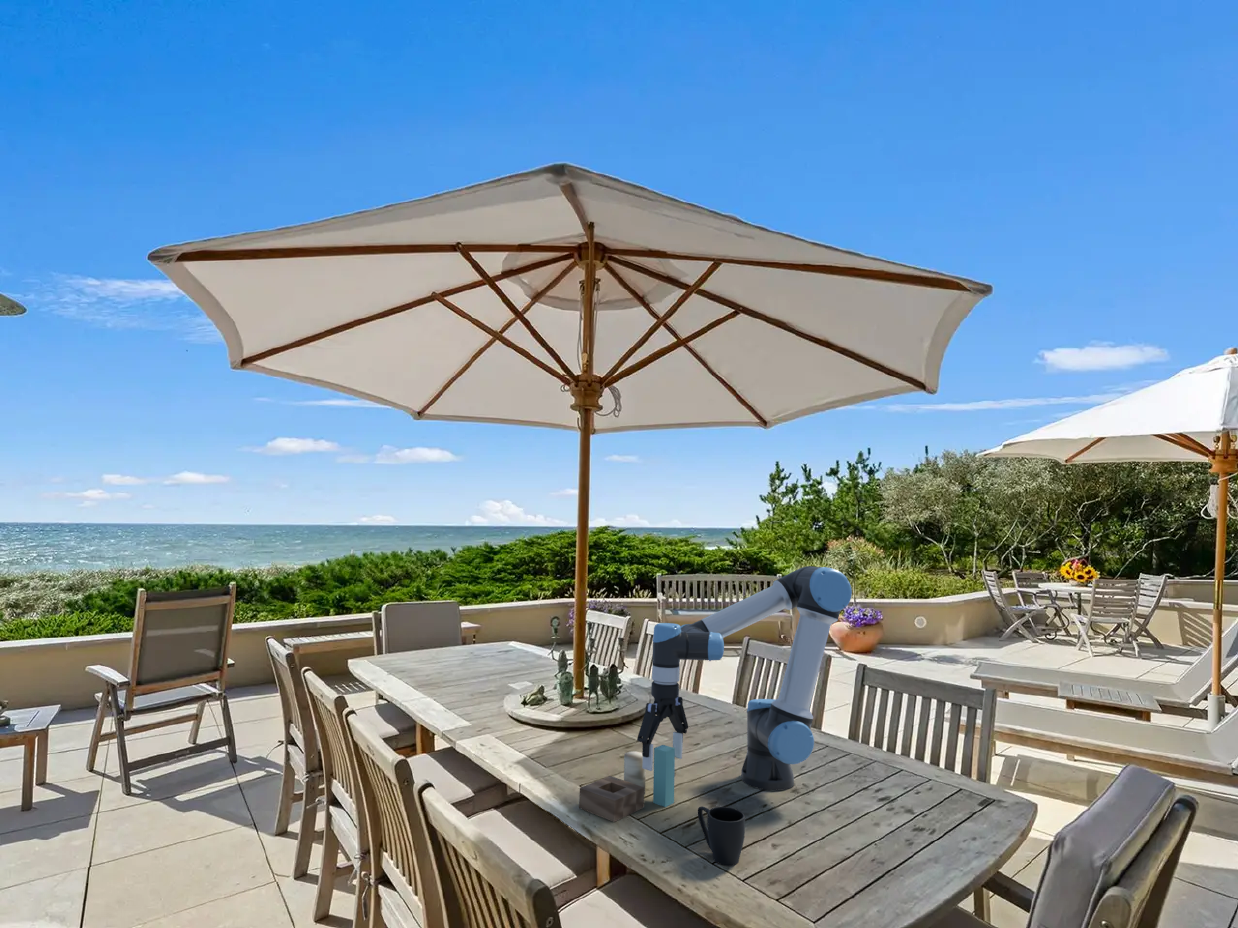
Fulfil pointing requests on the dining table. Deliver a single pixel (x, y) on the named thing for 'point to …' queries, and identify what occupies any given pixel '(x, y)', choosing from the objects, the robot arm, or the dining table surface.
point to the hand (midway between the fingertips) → (662, 763)
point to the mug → (723, 833)
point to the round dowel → (634, 768)
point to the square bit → (664, 775)
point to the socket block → (611, 798)
